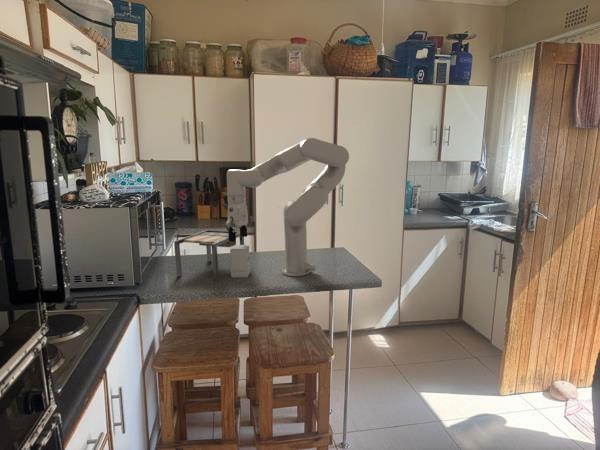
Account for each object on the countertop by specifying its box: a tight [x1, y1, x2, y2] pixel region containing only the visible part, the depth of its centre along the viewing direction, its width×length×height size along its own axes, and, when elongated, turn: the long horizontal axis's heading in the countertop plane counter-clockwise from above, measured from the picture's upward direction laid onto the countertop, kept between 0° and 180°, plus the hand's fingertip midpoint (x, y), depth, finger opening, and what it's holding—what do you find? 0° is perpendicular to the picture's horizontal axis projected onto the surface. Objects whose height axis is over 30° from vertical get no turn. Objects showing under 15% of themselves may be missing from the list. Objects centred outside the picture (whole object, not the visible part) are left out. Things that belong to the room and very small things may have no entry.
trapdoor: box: [183, 232, 237, 248], centre depth 176 cm, size 16×17×5 cm
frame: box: [173, 229, 245, 282], centre depth 177 cm, size 20×25×16 cm
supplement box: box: [229, 244, 251, 278], centre depth 170 cm, size 7×7×13 cm
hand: (238, 238), depth 168 cm, fingers open, 9 cm apart
